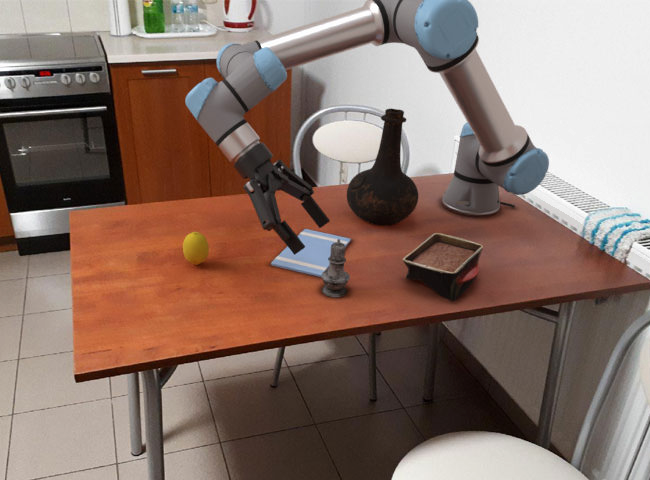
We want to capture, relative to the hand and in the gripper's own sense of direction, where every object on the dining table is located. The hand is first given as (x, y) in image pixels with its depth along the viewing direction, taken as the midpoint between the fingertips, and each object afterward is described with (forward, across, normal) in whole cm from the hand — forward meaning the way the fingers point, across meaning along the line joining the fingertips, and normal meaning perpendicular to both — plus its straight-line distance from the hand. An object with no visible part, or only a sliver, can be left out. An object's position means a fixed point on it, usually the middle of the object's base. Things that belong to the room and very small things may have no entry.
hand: (313, 237), depth 128 cm
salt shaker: (+12, 0, -4) cm, 12 cm away
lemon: (-10, +3, -26) cm, 28 cm away
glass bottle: (+10, -40, -6) cm, 42 cm away
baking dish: (+25, -14, +9) cm, 31 cm away
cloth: (+4, -14, -11) cm, 19 cm away
